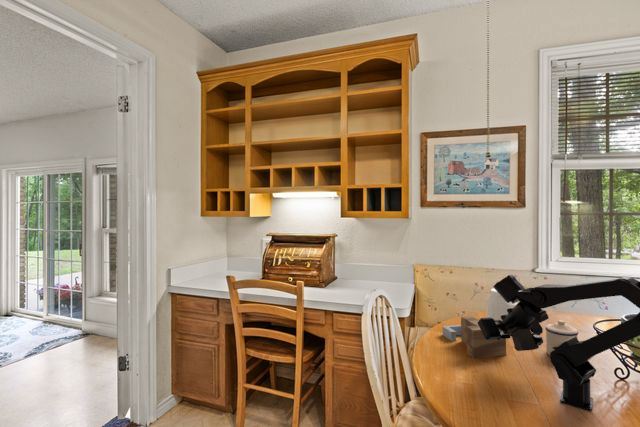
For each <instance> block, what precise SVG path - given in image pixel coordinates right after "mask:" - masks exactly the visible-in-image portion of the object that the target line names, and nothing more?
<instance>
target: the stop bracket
mask: <svg viewBox="0 0 640 427" xmlns="http://www.w3.org/2000/svg"><path fill="white" fill-rule="evenodd" d="M442 336H444V337H445V338H446V339H448V340H449V341H451V342H456V341H457V336H461V324H456V325H455V324H453V325H452V324H451V325H443V326H442Z"/></svg>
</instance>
